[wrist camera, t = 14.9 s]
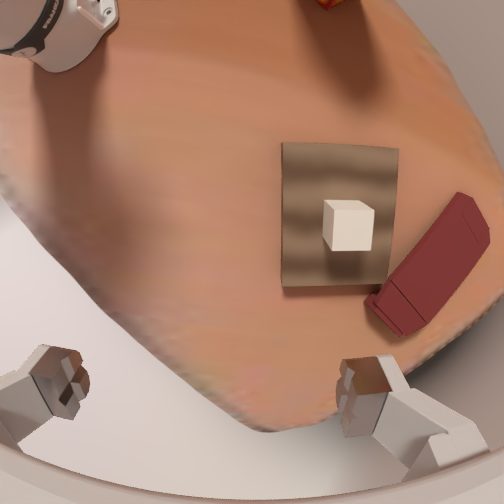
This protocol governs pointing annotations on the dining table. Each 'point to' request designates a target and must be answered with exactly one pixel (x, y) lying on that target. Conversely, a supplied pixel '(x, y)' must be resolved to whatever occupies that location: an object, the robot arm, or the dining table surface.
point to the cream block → (348, 225)
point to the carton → (433, 268)
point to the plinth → (312, 208)
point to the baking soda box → (329, 3)
